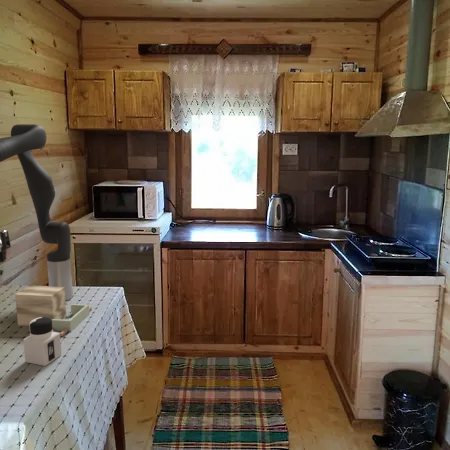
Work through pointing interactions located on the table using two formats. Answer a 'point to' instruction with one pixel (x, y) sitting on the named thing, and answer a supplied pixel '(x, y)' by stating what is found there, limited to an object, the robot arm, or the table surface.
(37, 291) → the ash block
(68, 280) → the robot arm
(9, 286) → the table surface
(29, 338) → the container
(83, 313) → the grey-green piece
